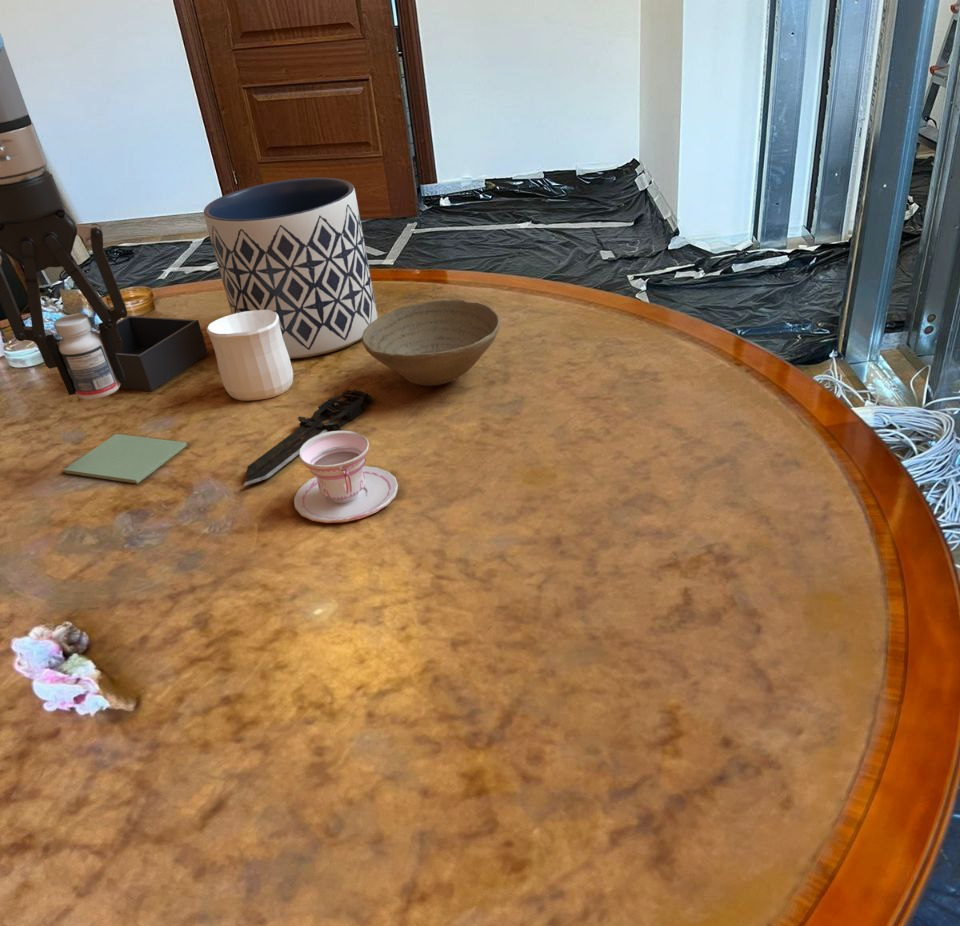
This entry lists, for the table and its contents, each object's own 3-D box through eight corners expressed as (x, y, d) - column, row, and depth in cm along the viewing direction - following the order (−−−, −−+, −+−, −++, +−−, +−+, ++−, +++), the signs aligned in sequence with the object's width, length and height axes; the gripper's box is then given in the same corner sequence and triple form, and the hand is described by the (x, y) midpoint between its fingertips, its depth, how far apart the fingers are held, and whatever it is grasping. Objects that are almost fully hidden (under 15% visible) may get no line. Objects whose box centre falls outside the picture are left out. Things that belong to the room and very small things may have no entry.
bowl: (408, 423, 114) (398, 364, 109) (351, 379, 127) (339, 324, 122) (529, 381, 120) (524, 323, 115) (462, 343, 133) (456, 289, 128)
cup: (306, 387, 126) (289, 320, 120) (240, 410, 123) (220, 341, 116) (281, 368, 133) (264, 303, 126) (218, 389, 129) (197, 322, 123)
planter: (371, 354, 133) (344, 209, 120) (226, 368, 135) (184, 227, 122) (385, 302, 150) (362, 171, 137) (256, 315, 152) (222, 187, 139)
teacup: (284, 487, 104) (271, 440, 100) (381, 460, 107) (372, 413, 103) (308, 536, 95) (294, 486, 91) (412, 505, 98) (403, 455, 94)
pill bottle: (84, 384, 111) (55, 313, 105) (125, 379, 110) (98, 308, 105) (72, 402, 106) (41, 330, 101) (115, 397, 106) (86, 324, 101)
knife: (254, 493, 104) (251, 483, 103) (216, 482, 107) (212, 472, 106) (383, 403, 119) (382, 393, 119) (347, 395, 123) (345, 386, 122)
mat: (65, 473, 113) (63, 469, 113) (117, 436, 120) (115, 433, 120) (137, 483, 109) (136, 480, 109) (187, 445, 116) (186, 442, 115)
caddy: (81, 384, 136) (67, 350, 133) (140, 348, 146) (128, 315, 142) (152, 391, 131) (139, 356, 128) (208, 353, 141) (198, 319, 137)
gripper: (-83, 200, 88) (18, 415, 103) (103, 165, 92) (175, 376, 107) (-76, 186, 94) (19, 392, 109) (99, 153, 98) (168, 356, 113)
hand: (96, 384), depth 108 cm, fingers closed on pill bottle, 5 cm apart
